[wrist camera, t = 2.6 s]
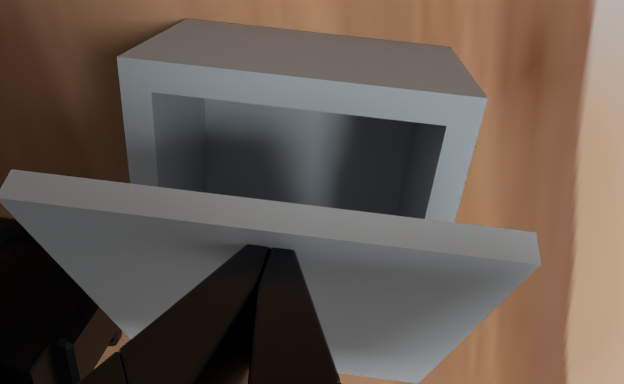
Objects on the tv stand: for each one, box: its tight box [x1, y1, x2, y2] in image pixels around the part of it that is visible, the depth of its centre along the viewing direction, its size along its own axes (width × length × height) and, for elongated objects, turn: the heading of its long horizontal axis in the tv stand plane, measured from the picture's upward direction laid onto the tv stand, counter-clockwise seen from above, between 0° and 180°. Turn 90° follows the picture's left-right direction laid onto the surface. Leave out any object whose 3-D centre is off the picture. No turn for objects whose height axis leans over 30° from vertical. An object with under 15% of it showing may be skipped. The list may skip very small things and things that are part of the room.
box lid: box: [0, 169, 541, 384], centre depth 12 cm, size 9×9×1 cm
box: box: [117, 19, 488, 223], centre depth 16 cm, size 9×9×6 cm
